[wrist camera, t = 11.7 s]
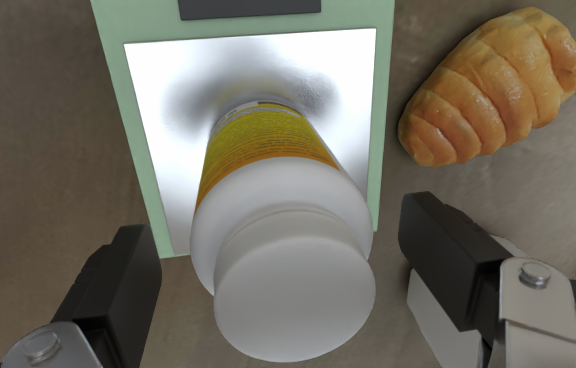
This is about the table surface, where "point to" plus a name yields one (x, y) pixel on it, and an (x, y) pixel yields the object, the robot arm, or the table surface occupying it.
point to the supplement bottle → (281, 236)
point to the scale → (243, 86)
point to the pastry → (491, 89)
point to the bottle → (446, 322)
